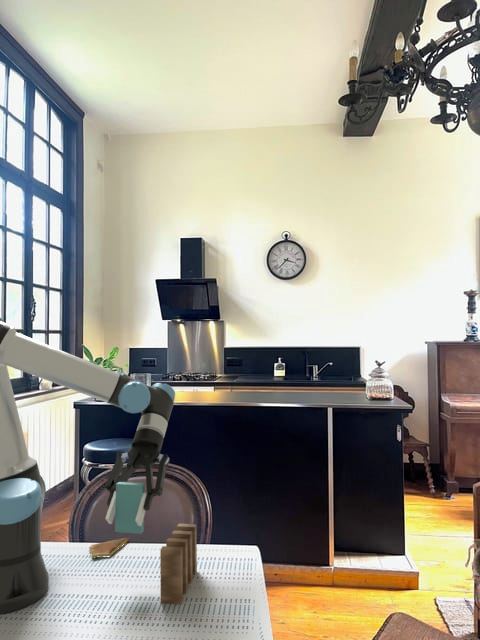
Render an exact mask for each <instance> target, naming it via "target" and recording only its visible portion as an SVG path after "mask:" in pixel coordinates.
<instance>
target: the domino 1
mask: <svg viewBox="0 0 480 640" xmlns="http://www.w3.org/2000/svg"><path fill="white" fill-rule="evenodd" d="M145 485H146V484H145V483H142V482H130V481H129V482H128V481H127V482H118V483H117V484H116V513H115V516H114V521H115V522H114V532H115V533H122V534H123V533H125V534H137V535H138V534H139V535H141V534H143V533H144V531H145V517H144V518H143V522H142V526H138V525H137V523H136V521H135V519H136V516H137V512H138V509H139V506H140V502H141V499H142V495H143V493H145V487H146V486H145Z"/></svg>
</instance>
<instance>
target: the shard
mask: <svg viewBox="0 0 480 640" xmlns="http://www.w3.org/2000/svg"><path fill="white" fill-rule="evenodd" d="M129 539H130V536H128V537H124V538H123V537H122V538H118V539H112V540H108V541H103V542H98V543H94V544H91V545H90V546H89V547H88V550H89V549H90V551H91V553H90V555H91V554H92V556H91V559H92V558H93V559H95V558H94V557H97V556H111V555H112V556H113V555H114V553H116V552H117V551H118V550H117V549H118V548H120V547H121V546H122V545H123V544H125V545H126V544H127V543H128V540H129ZM121 548H122V547H121ZM121 548H120V549H121ZM116 550H117V551H116ZM90 551H89V552H90ZM115 551H116V552H115ZM112 556H111V557H112Z"/></svg>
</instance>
